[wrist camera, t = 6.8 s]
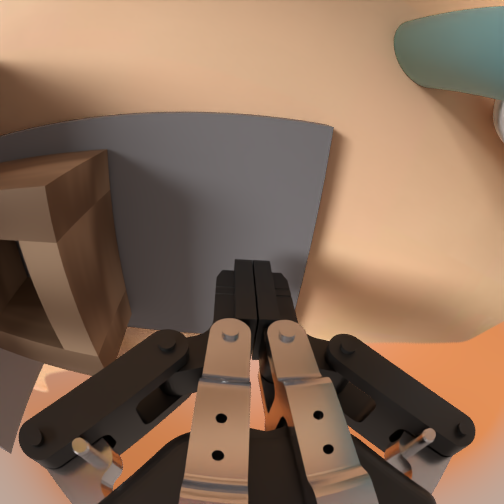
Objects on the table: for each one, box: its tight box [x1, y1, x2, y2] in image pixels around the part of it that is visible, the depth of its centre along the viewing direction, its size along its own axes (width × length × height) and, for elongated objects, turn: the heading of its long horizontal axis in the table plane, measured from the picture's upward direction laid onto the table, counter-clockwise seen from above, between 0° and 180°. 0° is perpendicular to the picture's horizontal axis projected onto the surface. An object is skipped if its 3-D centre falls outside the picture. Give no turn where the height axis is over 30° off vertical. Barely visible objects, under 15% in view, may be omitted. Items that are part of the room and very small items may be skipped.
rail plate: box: [0, 112, 334, 334], centre depth 14 cm, size 13×20×1 cm, turn 85°
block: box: [0, 149, 132, 376], centre depth 11 cm, size 10×10×5 cm
